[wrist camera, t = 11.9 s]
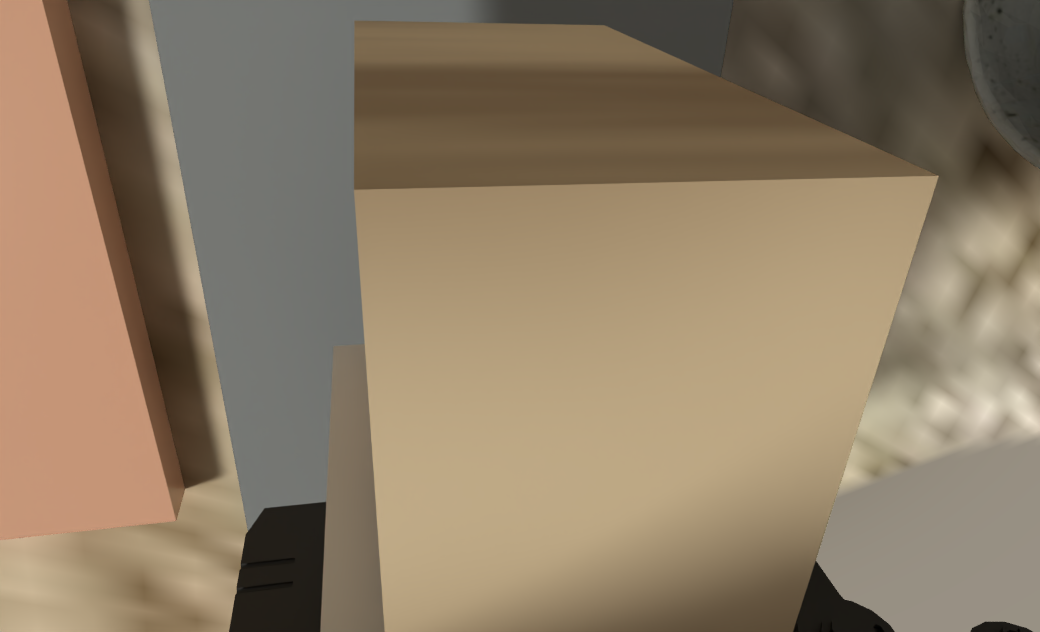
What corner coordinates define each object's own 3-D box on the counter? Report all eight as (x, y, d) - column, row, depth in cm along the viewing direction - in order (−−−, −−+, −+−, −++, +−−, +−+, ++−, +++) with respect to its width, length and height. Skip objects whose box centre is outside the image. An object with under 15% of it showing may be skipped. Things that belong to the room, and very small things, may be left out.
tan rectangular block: (143, 16, 11) (-238, 204, 4) (772, 28, 13) (1274, 168, 6) (258, 624, 17) (192, 1114, 10) (668, 570, 19) (850, 952, 12)
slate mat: (139, -117, 13) (126, -118, 12) (729, -87, 15) (748, -86, 14) (254, 524, 20) (251, 546, 19) (639, 483, 22) (648, 502, 21)
